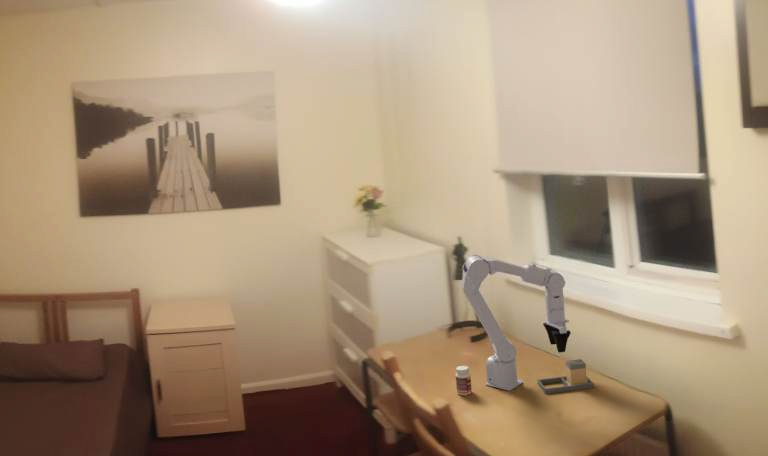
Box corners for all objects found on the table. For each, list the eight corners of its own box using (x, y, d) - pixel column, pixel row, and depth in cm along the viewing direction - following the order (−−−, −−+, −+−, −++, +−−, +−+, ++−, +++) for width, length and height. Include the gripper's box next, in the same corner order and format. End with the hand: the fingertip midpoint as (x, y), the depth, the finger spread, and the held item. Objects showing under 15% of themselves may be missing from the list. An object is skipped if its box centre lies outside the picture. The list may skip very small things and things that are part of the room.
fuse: (571, 386, 202) (569, 365, 201) (566, 381, 206) (565, 361, 205) (586, 384, 203) (585, 363, 202) (582, 379, 207) (580, 359, 205)
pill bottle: (471, 395, 205) (469, 370, 204) (456, 395, 206) (454, 371, 204) (472, 389, 209) (470, 364, 208) (457, 389, 210) (455, 365, 209)
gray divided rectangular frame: (545, 393, 200) (544, 389, 200) (537, 383, 208) (537, 379, 208) (593, 387, 201) (593, 383, 200) (584, 378, 209) (584, 373, 208)
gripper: (575, 312, 200) (577, 353, 202) (559, 300, 214) (562, 339, 216) (552, 315, 200) (555, 356, 202) (539, 302, 214) (541, 341, 216)
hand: (557, 347), depth 209 cm, fingers open, 7 cm apart
